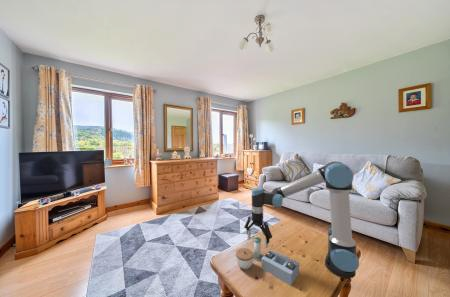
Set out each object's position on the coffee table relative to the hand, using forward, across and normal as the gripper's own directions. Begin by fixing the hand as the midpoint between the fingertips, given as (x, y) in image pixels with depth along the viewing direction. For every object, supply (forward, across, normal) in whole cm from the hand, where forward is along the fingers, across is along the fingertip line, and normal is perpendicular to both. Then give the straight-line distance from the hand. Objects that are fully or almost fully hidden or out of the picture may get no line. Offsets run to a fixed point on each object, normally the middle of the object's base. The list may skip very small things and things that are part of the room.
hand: (257, 243), depth 109 cm
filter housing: (+9, +16, -2) cm, 19 cm away
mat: (+9, 0, 0) cm, 9 cm away
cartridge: (+8, 0, 0) cm, 8 cm away
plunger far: (+6, +10, -2) cm, 12 cm away
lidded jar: (+9, -1, -13) cm, 16 cm away
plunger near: (+6, +23, -1) cm, 24 cm away
